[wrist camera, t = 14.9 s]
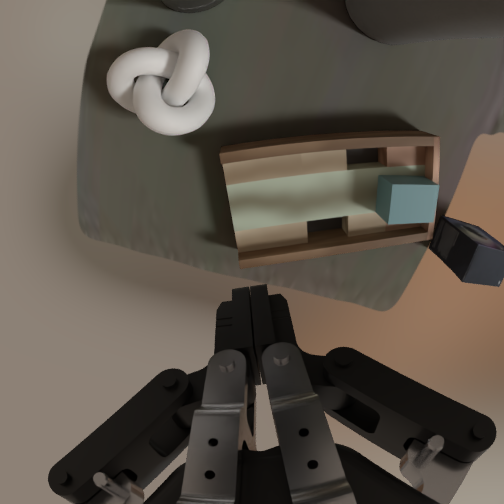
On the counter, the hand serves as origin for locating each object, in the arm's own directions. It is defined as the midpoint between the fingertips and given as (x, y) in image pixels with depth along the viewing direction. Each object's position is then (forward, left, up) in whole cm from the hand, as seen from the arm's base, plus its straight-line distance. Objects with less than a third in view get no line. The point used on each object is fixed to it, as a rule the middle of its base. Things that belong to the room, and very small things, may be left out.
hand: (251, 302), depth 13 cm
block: (+5, +20, -24) cm, 32 cm away
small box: (+15, +34, -27) cm, 46 cm away
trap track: (+5, +11, -27) cm, 30 cm away
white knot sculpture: (-11, -6, -27) cm, 30 cm away
